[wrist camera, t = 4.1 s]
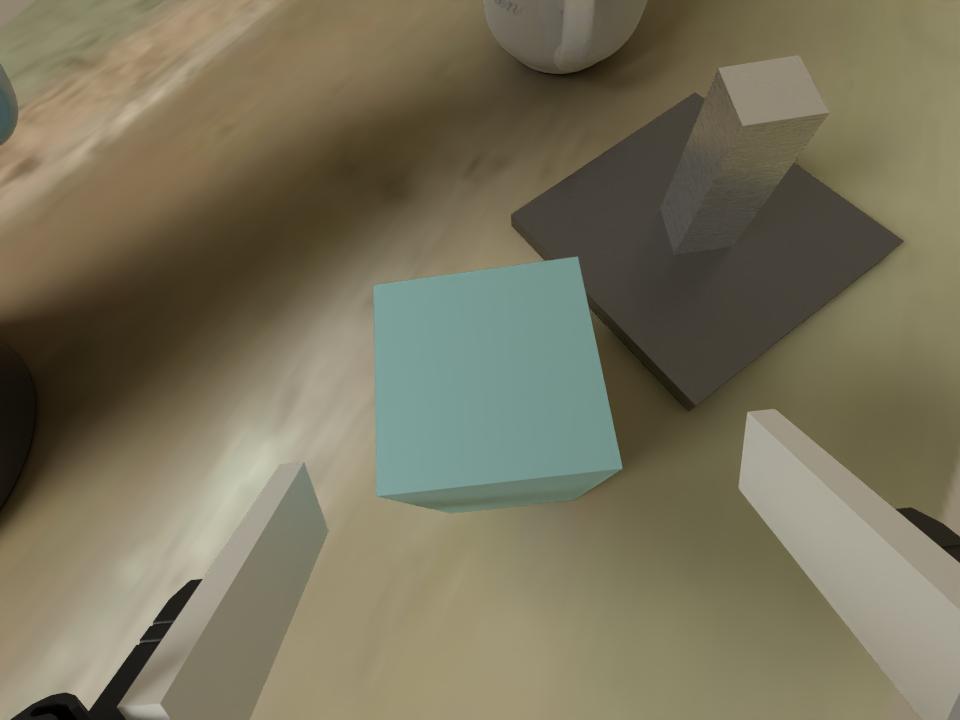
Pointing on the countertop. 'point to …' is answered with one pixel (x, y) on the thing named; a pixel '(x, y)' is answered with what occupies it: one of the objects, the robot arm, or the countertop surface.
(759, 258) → the gray square peg stand
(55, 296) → the countertop surface
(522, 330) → the teal upright box
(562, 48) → the teacup
